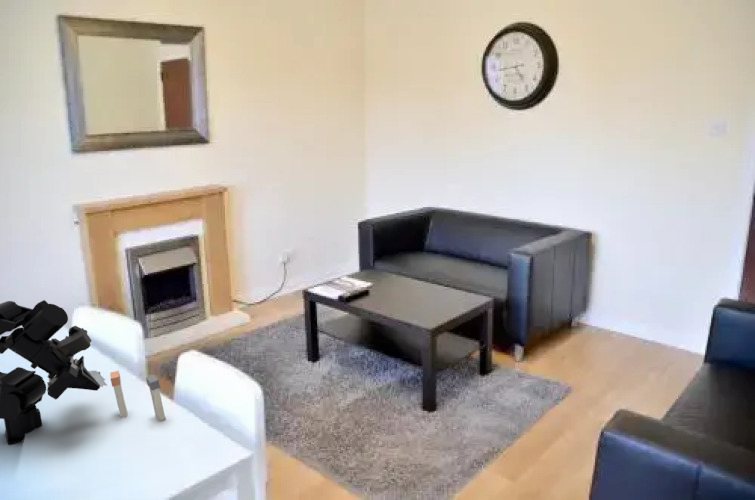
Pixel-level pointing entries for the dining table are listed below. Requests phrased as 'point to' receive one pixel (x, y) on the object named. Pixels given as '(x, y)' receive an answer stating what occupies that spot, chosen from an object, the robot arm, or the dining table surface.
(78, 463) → the dining table surface
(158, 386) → the lever
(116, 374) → the lever
